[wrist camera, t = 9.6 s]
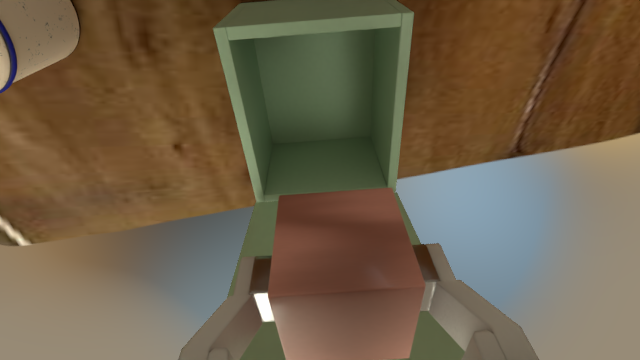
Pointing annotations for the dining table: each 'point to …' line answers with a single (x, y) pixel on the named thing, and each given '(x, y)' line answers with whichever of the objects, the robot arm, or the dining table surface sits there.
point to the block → (344, 277)
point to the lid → (265, 348)
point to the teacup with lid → (34, 36)
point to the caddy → (317, 92)
